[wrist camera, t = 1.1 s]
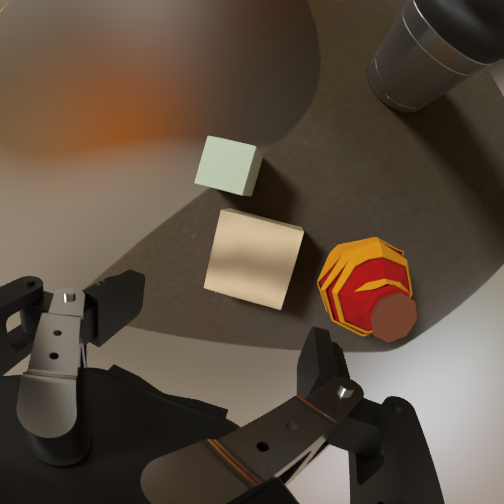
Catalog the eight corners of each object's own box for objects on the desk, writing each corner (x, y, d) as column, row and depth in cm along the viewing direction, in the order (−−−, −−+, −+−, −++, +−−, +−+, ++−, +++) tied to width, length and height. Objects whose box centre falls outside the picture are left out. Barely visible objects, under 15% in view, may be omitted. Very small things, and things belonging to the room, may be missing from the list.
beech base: (230, 208, 34) (221, 209, 29) (301, 227, 33) (304, 231, 28) (215, 276, 35) (203, 287, 31) (282, 295, 35) (280, 310, 30)
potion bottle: (394, 232, 31) (459, 256, 16) (382, 309, 33) (427, 370, 18) (315, 224, 32) (337, 244, 18) (307, 305, 34) (316, 373, 20)
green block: (224, 147, 32) (208, 135, 25) (262, 157, 32) (256, 146, 25) (213, 185, 33) (194, 182, 26) (251, 196, 33) (242, 195, 26)
